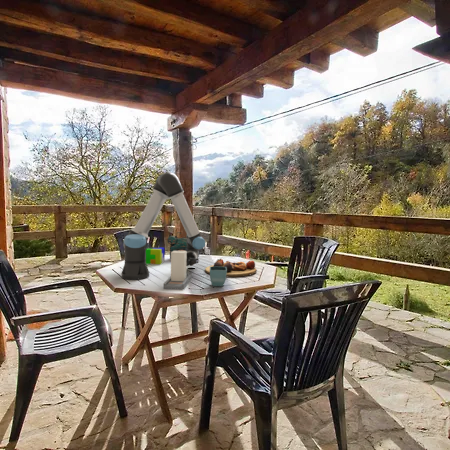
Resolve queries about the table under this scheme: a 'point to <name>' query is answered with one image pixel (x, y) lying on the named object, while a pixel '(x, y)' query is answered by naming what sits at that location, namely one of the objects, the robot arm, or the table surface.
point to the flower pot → (218, 275)
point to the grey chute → (177, 283)
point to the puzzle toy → (155, 255)
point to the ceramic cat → (177, 243)
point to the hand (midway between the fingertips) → (182, 266)
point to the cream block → (178, 265)
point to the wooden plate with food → (235, 268)
